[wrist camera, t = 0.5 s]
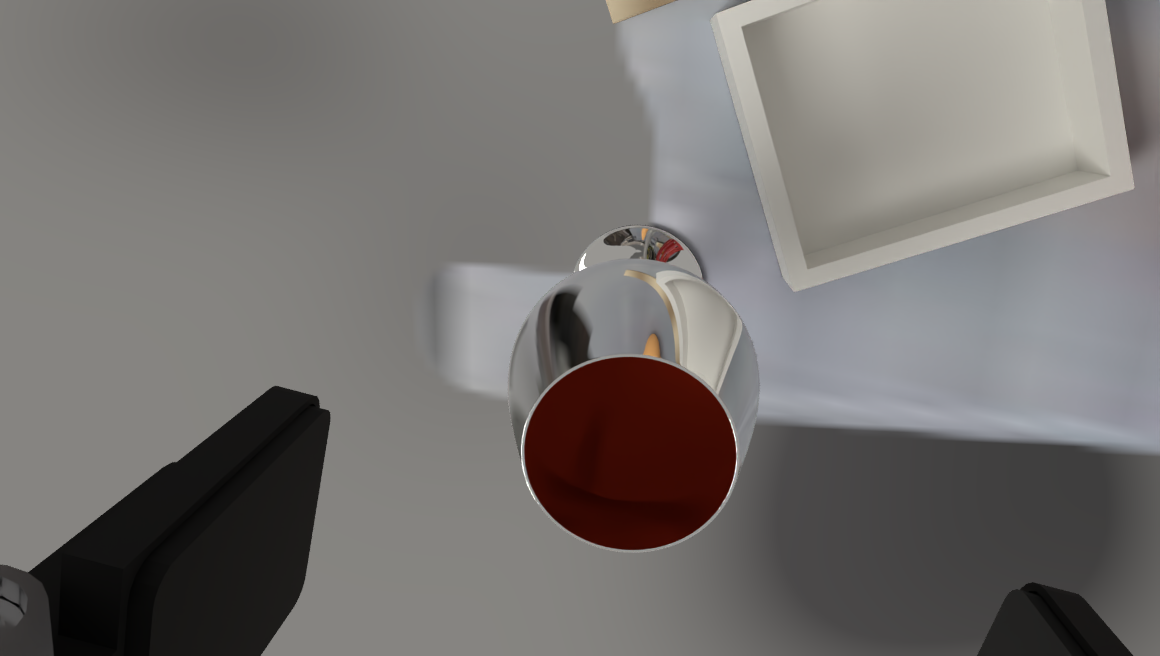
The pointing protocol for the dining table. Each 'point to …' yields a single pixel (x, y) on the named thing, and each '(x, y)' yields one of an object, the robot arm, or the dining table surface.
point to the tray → (919, 121)
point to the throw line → (632, 8)
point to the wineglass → (633, 395)
